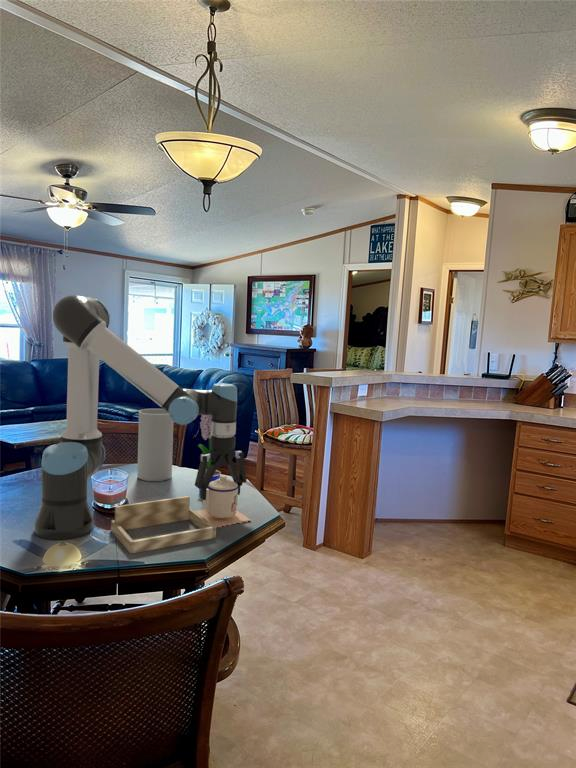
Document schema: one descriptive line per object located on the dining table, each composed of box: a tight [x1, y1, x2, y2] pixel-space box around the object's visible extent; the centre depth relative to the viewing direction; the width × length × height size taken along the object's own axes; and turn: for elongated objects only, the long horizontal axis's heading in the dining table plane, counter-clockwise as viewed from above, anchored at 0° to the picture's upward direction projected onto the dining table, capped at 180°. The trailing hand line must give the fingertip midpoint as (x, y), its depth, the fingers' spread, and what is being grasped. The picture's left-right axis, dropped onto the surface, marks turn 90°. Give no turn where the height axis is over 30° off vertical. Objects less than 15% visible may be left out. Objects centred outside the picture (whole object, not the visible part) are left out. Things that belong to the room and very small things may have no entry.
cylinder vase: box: [137, 408, 174, 483], centre depth 207 cm, size 12×12×25 cm
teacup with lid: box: [208, 475, 238, 518], centre depth 170 cm, size 12×9×12 cm
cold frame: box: [110, 495, 217, 555], centre depth 155 cm, size 24×17×7 cm
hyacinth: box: [197, 415, 222, 494], centre depth 193 cm, size 9×10×30 cm
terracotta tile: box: [194, 509, 252, 529], centre depth 171 cm, size 14×14×1 cm
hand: (220, 507), depth 171 cm, fingers closed on teacup with lid, 9 cm apart
